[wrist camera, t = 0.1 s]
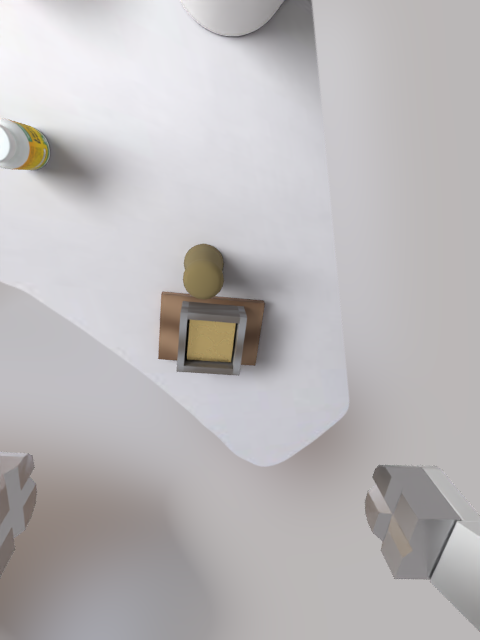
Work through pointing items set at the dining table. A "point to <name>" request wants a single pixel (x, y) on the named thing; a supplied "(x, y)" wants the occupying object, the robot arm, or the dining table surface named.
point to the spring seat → (210, 341)
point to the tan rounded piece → (203, 271)
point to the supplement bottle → (22, 146)
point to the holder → (218, 309)
